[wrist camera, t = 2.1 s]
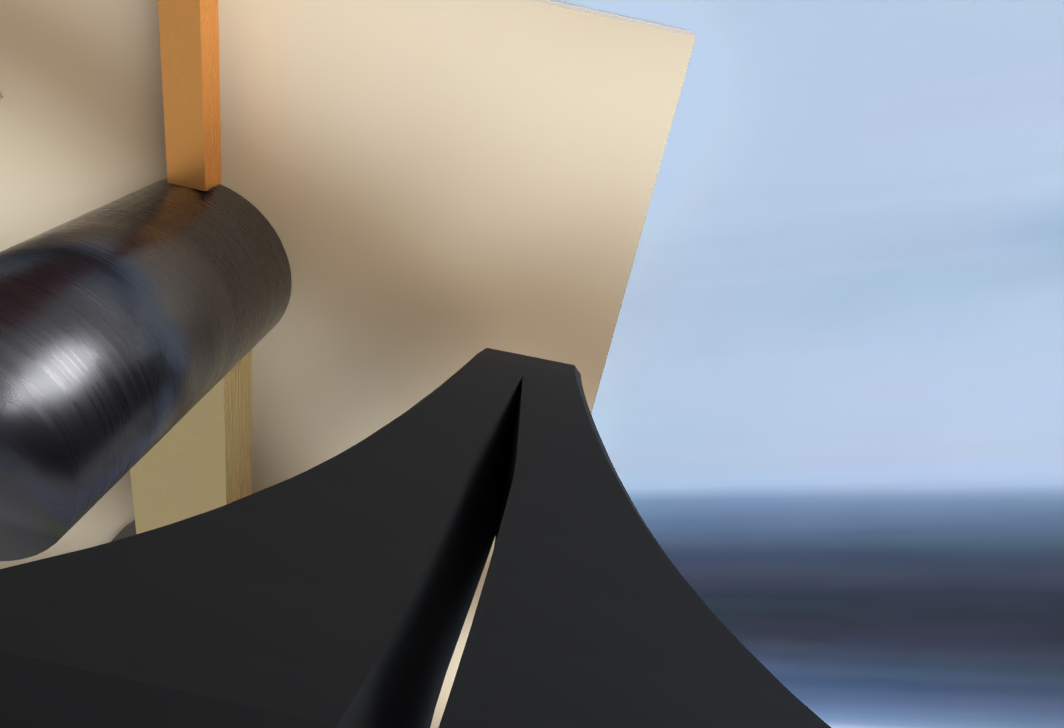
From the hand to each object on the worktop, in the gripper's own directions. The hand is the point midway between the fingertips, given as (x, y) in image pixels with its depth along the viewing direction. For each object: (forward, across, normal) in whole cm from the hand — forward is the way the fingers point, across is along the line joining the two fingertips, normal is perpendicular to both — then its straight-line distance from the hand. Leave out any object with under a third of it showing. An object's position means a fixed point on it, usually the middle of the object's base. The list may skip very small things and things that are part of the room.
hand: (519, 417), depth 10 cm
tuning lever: (+2, +6, +3) cm, 7 cm away
